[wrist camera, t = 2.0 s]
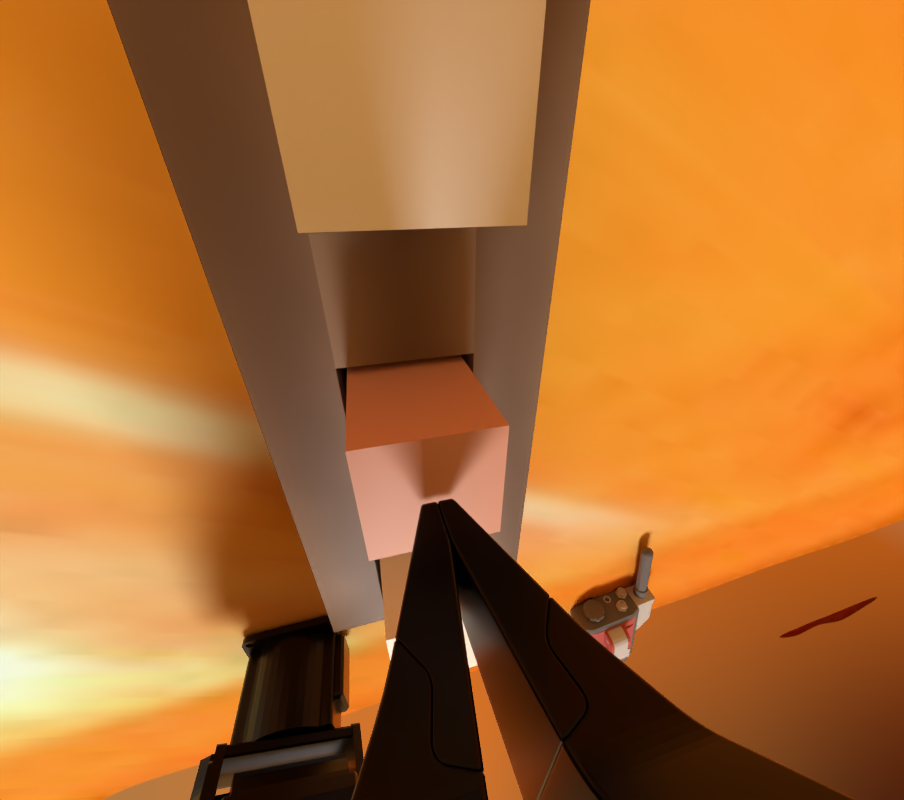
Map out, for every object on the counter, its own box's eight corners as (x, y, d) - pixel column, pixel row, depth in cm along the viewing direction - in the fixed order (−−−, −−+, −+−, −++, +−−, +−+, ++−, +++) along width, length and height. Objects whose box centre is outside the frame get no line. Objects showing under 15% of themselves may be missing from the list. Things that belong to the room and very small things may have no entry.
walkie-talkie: (631, 628, 44) (647, 533, 34) (657, 667, 41) (684, 575, 30) (569, 654, 43) (565, 565, 33) (589, 696, 40) (592, 612, 29)
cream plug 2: (385, 564, 19) (396, 689, 14) (376, 514, 17) (386, 641, 12) (455, 548, 20) (488, 661, 15) (454, 498, 18) (493, 611, 13)
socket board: (337, 537, 23) (334, 632, 18) (186, -15, 10) (28, -219, 5) (480, 507, 25) (513, 585, 20) (501, 16, 12) (604, -108, 7)
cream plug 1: (322, 216, 10) (297, 232, 6) (288, 31, 8) (203, -198, 4) (451, 213, 11) (526, 225, 6) (449, 43, 9) (557, -129, 4)
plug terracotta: (363, 441, 15) (369, 561, 10) (347, 354, 13) (344, 451, 8) (453, 427, 16) (499, 531, 11) (452, 343, 14) (509, 425, 9)
